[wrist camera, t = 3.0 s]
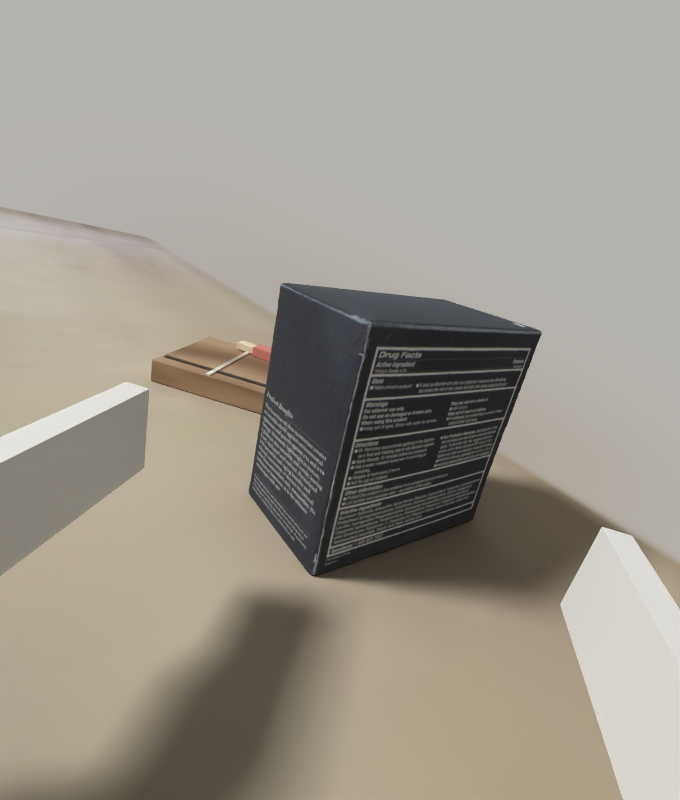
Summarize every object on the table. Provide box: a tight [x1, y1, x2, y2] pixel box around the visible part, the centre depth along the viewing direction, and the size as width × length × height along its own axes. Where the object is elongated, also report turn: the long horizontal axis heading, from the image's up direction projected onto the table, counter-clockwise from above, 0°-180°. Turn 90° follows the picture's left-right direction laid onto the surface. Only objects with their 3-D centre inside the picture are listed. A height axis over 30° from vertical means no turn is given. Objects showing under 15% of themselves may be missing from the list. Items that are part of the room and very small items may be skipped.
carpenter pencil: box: [236, 341, 272, 362], centre depth 35 cm, size 14×1×1 cm, turn 67°
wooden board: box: [151, 337, 269, 414], centre depth 33 cm, size 8×18×2 cm, turn 77°
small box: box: [249, 283, 542, 576], centre depth 21 cm, size 11×6×10 cm, turn 126°
